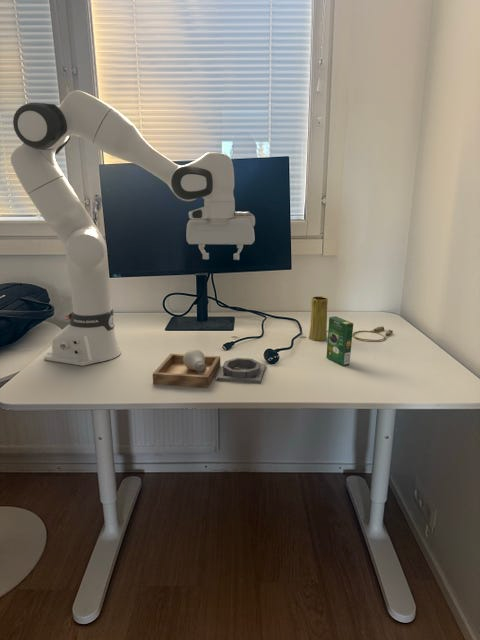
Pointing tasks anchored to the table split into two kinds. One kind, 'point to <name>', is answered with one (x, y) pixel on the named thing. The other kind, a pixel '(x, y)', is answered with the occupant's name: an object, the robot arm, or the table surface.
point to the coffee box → (339, 340)
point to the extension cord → (375, 332)
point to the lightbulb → (195, 360)
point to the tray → (185, 372)
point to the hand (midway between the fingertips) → (221, 259)
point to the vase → (318, 319)
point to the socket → (241, 371)
